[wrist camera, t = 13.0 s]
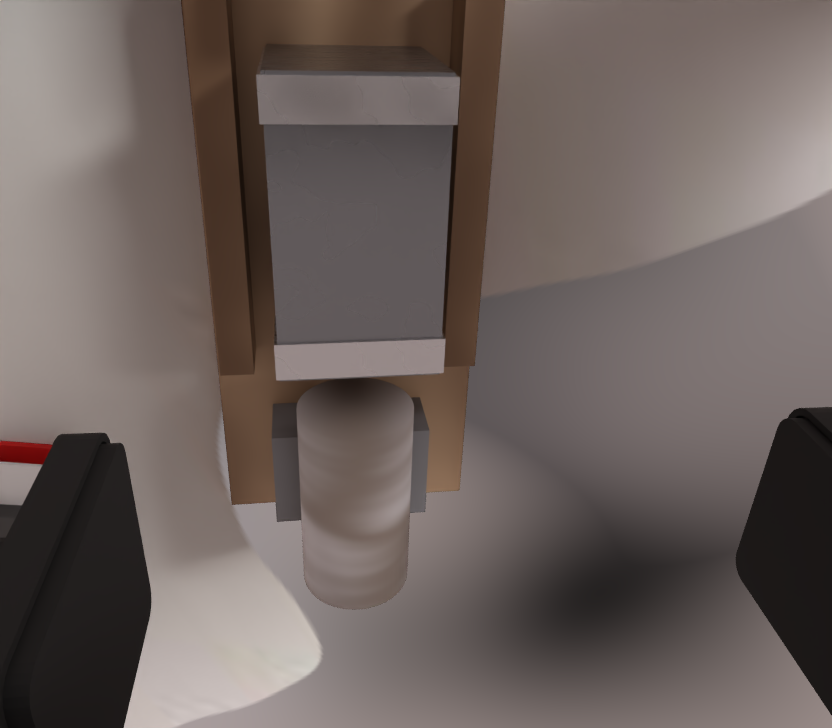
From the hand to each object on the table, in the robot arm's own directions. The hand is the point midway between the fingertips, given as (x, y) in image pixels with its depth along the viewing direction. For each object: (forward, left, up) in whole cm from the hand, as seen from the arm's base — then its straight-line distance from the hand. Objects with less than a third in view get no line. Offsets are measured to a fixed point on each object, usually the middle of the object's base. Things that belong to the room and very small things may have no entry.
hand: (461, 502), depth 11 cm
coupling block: (0, 0, -18) cm, 18 cm away
